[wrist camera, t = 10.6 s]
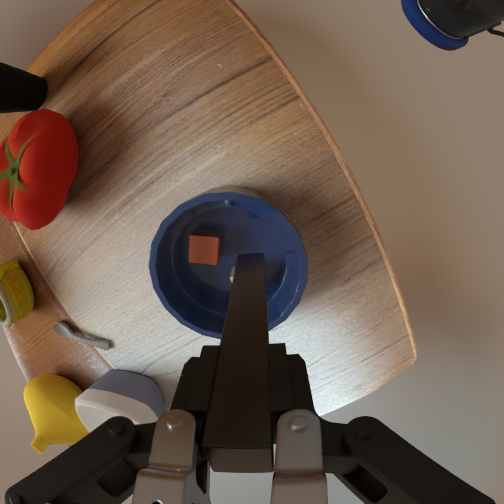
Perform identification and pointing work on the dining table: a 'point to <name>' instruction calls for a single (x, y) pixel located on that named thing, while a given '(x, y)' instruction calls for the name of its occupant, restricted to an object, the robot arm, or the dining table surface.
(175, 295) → the bowl
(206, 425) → the stick
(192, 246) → the block
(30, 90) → the cup
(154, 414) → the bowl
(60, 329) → the spoon
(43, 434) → the vase
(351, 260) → the dining table surface
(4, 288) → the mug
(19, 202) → the tomato
